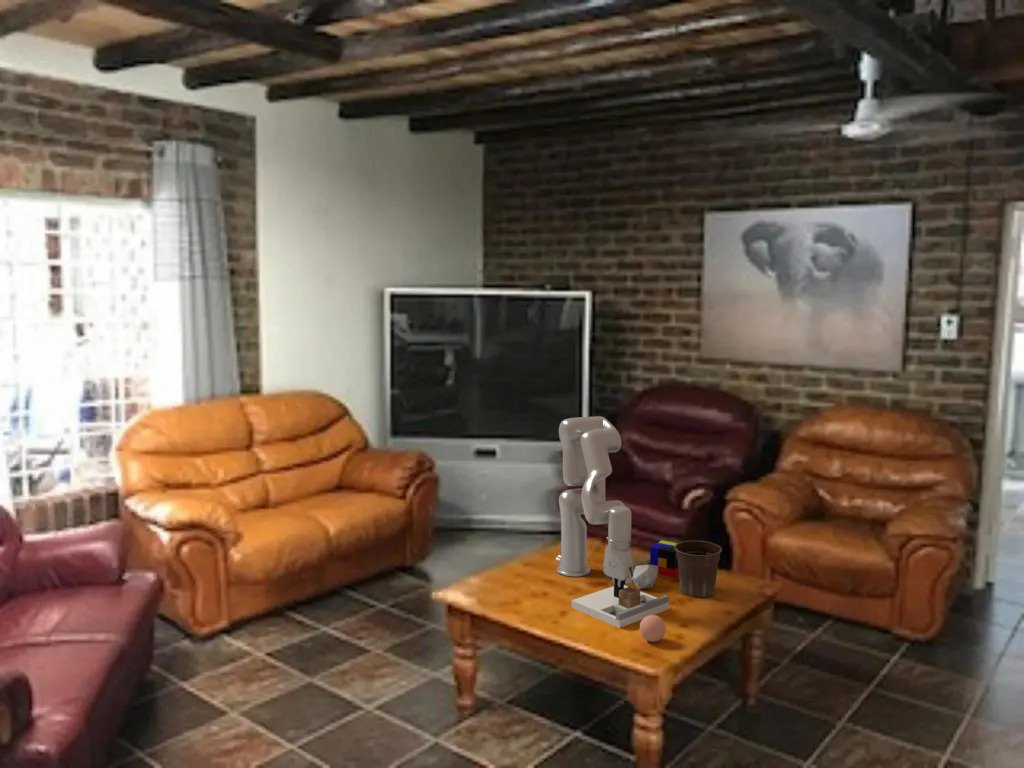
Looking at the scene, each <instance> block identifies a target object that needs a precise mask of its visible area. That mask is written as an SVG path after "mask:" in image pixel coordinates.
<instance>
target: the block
mask: <svg viewBox="0 0 1024 768" xmlns="http://www.w3.org/2000/svg"><path fill="white" fill-rule="evenodd" d="M640 591H641V590H640V589H636V588H633V587H632V586H628V587H627V588H624V589H621V590H619V605H621V606H623V607H626V608H628V609H629V608H631V607H634V606H637V605H640Z"/></svg>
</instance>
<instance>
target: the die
mask: <svg viewBox="0 0 1024 768" xmlns="http://www.w3.org/2000/svg"><path fill="white" fill-rule="evenodd" d="M657 578H658V574H656V573H655V572H654V570H653V569H652V568H651V566H650V564H643V565H642V564H641V565H635V567H634V573H633V577H632V583H634V584H635V586H636V587H637V588H638V589H637V590H645V589H652V588H653V587H654V585H655V583H656V581H657Z"/></svg>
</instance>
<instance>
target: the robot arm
mask: <svg viewBox="0 0 1024 768" xmlns="http://www.w3.org/2000/svg"><path fill="white" fill-rule="evenodd" d="M558 437H559V441H560V444H561V448H562V478H563V479H562V480H563V482H564V484H565V485H566V486H568V487H581V486H582V488H573V489H566V490H564V491H562V492H561V493H560V494H559V496H558V505H559V512H560V521H561V523H560V524H561V526H560V530H561V531H560V535H561V541H560V542H561V543H560V545H561V548H560V549H561V553H560V554H558V555H557V556H556V557H555V561H556V562H558V563H559V565H558V566H557V567H556V571H557V573H558V574H561V575H563V576H566V577H576V578H577V577H582V576H587V575H589V574H590V573H591V567H590V566H589V565H588V564H587V545H588V544H587V541H588V540H587V534H588V531H587V529H588V527H587V524H586V521H587V522H588V523H589V524H590V525H593V526H594V525H597V526H598V525H605V524H607V525H608V529H607V531H608V532H607V533H608V534H607V535H608V536H607V537H606V541H607V544H606V546H605V550H604V551H605V552H604V556H603V557H604V558H603V574H605V575H606V576H607V577H609V578H610V580H611V585H613V586H614V597H616V598H619V590H621V589H624V585H625V586H627V585H626V584H628V585H629V584H632V583H633V580H632V577H633V573H634V570H635V567H634V564H635V563H634V555H633V550H632V547H631V546H632V511H631V509H630V508H629V507H628V506H626V505H625V504H624V503H623V501H622V500H618V499H616V500H606V478H607V477H608V476H610V475H611V474H612V472H613V467H612V464H611V460H610V457H609V453H617V452H619V451H620V450H621V447H622V438H621V435H620V433H619V431H618V430H617V429H616V427H615V426H614V425H613V424H612V423H611V422H610V421H609V420H608V419H607V418H605V417H603V416H601V415H599V416H597V415H596V416H582V417H581V416H580V417H579V416H578V417H569V418H566V419H563V420H562V421H561V422H560V423H559V428H558ZM582 515H584V517H585V519H586V521H584V519H583V518H582V517H581V516H582Z"/></svg>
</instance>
